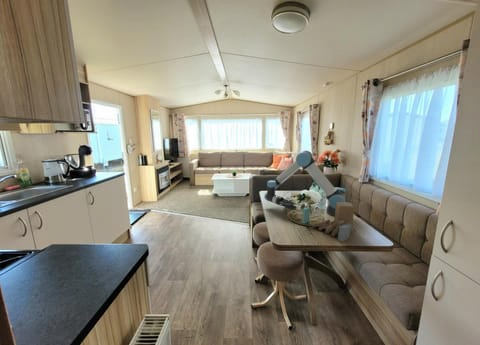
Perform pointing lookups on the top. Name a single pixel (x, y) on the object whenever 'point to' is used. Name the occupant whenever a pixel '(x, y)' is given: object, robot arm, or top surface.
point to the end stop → (344, 232)
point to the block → (344, 212)
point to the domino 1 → (306, 215)
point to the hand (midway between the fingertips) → (300, 208)
